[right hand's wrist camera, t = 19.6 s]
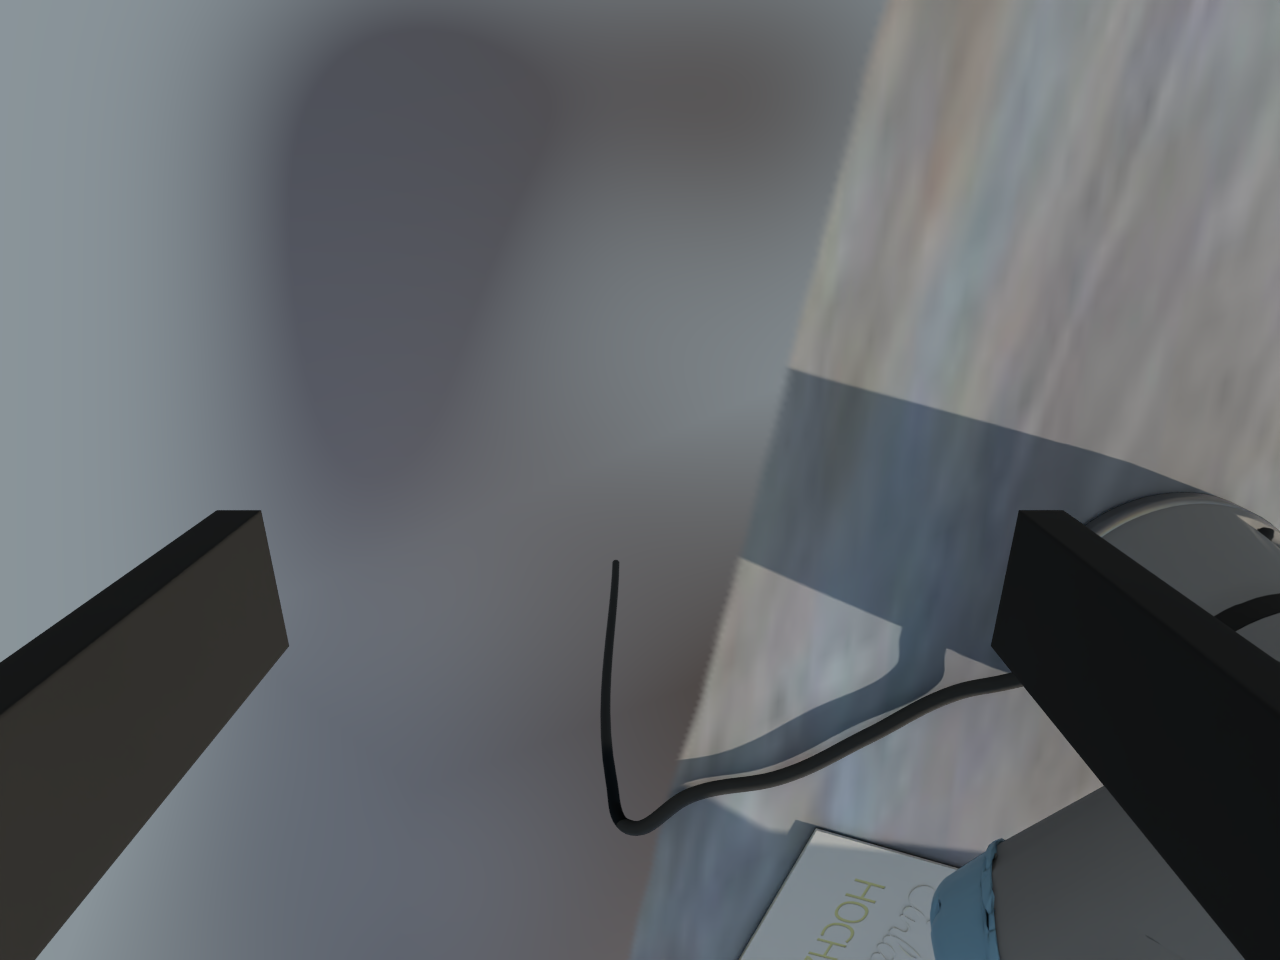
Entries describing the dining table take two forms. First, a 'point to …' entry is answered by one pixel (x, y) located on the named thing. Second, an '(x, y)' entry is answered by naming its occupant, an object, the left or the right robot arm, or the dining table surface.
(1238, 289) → the dining table surface
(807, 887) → the invitation card
